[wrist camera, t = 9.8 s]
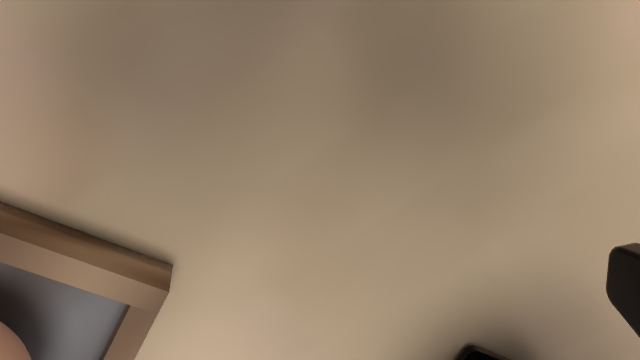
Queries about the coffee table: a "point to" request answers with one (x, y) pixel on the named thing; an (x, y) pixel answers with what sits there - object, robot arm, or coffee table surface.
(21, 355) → the ball
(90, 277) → the walnut tray
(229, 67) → the coffee table surface
